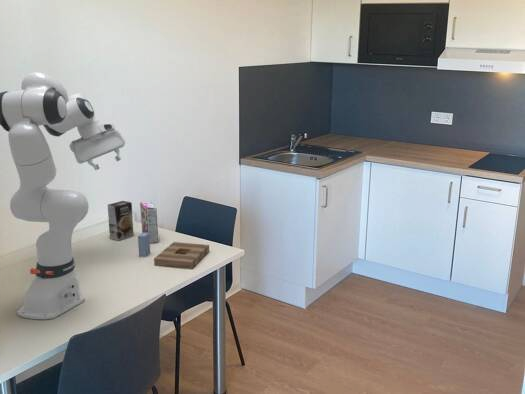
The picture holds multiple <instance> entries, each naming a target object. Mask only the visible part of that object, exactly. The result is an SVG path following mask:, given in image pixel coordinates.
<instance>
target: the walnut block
mask: <svg viewBox="0 0 525 394" xmlns="http://www.w3.org/2000/svg"><path fill="white" fill-rule="evenodd" d="M209 252H210V244H206V243H205V244H203V243H202V244H201V243H194V242H193V243H192V242H181V241H180V242H178V241H173V242H171V244H170V245H168V246H167V247H166V248H165V249H163V251H161V252H160V253H159V254H158V255H157V256H155V257H154V258H153V262H154V263H153V264H154V266H155V267H156V266H157V267H167V268H176V269H185V270H187V269H189V270H193V269H194V268H195V267H196V266H197V265H198V264H199V263H200V262H201V261H202V260H203V259H204V258H205V256H207V255H208V254H209Z"/></svg>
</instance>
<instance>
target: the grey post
mask: <svg viewBox="0 0 525 394" xmlns="http://www.w3.org/2000/svg"><path fill="white" fill-rule="evenodd" d="M137 244H138V257H141V258H147V257H148V256H149V255H150V254H151V244H150V238H149V233H142V232H141V233H140V234H138V235H137Z"/></svg>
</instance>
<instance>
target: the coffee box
mask: <svg viewBox="0 0 525 394" xmlns="http://www.w3.org/2000/svg"><path fill="white" fill-rule="evenodd" d="M132 204H133V203H132V202H131V201H126V200H120V201H117V202H113V203H112V202H111V203H109V204H107V213H108V215H107V216H108V218H107V219H108V229H109V239H111V240H114V241H117V242H119V241H122V240H126V239H129V238H132V237H134V221H133V205H132Z"/></svg>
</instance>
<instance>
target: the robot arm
mask: <svg viewBox="0 0 525 394" xmlns="http://www.w3.org/2000/svg"><path fill="white" fill-rule="evenodd" d="M0 126H1V127H2V128H3V130H5V131H6V132H8V135H7V136H8V137H7V138H8V144H9V148H10V149H9V150H10V153H11V156H12V160H13V163H14V166H15V168H16V171H17V174H18V178H19V184H20V185H19V188H18V189H17V191H16V192H14V193H13V195H12V196H11V199H10V201H9V208H10V211H11V213H12V215H13V217H14V218H16V219H19V220H23V221H26V222H33V223H35V222H36V223H37V222H38V223H48V226H49V227H48V230H47V231H45V232H43V233H41V234H40V235H39V236H38V237H37V239H36V242H35V247H36V248H35V249H36V257H37V262H36V266H35V268H33V267H32V268H30V270H29V274H30V275H35V277H34V278H33V279H32V280H31V281H32V282H31V283H30V285H29V287H28V288H27V290H26V292H24V295H23V305H22V306H20V308H19V309H18V310H17V311H16V314H17V315H18V316H19V317H22V318H25V319H31V320H51V319H52V320H53V319H54V318H57V317H59V316H61V315H62V314H64V313H66V312H67V311H69V310H71V309H73V308H75V307H77V306H78V305H80V304H81V303H84V301H85V298H84V297H85V296H83V295H82V293H81V287H80V283H79V282H80V281H79V277H78V276H77V274H76V272H75V268H76V266H75V264H76V263H75V259H74V257H73V252H72V249H73V248H72V237H73V233H74V230H75V228H76V226H77V225H78V224H79V223H80V222H82V221H83V220H84V219H85V218H86V216H87V215H88V211H89V201H88V199H87V197H86V195H85V194H84V193H82V192H79V191H75V190H70V189H58V188H57V189H55V188H54V189H51V188H48V187H47V185H49V184H50V183H51V182H53V181H54V179H55V178H56V176H57V168H56V164H55V162H54V157H53V155H52V152H51V149H50V146H49V144H48V141H47V139H46V137H45V135H44V133H43V132H42V130H41V128H40V126H43V127H44V129H45V130H46V132H47V133H48V134H49V135H50V136H53V137H61V136H62V135H64V134H65V133H67V132H69V131H71V130H72V129H75V128H77V132H78V134H79V135H80V137H79V138H77V139H74V140H72V141H71V142H70V143H69V148H70V150H71V152H72V153H73V155H74V157H75V160H76V162H77V164H84V163H88V164H89V165H90V166H91V167H92V168H93V169H94V170H95V171H97V170H99V169H100V166H99V164H98V163H96V164H95V163H94V162H93V159H96V158H99V157H103V156H104V155H106V154H109V153H111V152H114V153H116V156H115V157H114V159H115V161H116V162H120V161H121V160H122V158H121V156H120V154H121V153H120V149H122V148H124V147H125V146H126V145H125V144H126V141H125V138H124V137H123V136H122V134H121V133H120V131H119V130H118V129H115V128H116V126H115V125H114V123H100V121H99V120H98V119H97V117H96V114H95V110H94V108H93V106H92V104H91V102H90V101H89V100H87V98H86V97H85V96H84V95H83V93H74V94H72V95H68V91H67V89H66V88H65V87H64V85H63V84H62V83H61V82H60V81H59V80H58V79H55V78H54V77H52V76H51V75H49V74H46V73H43V72H38V71H34V72H30V73H28V74H26V75H25V76H24V77H23V79H22V81H21V89H20V90H13V91H7V90H6V91H1V92H0Z"/></svg>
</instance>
